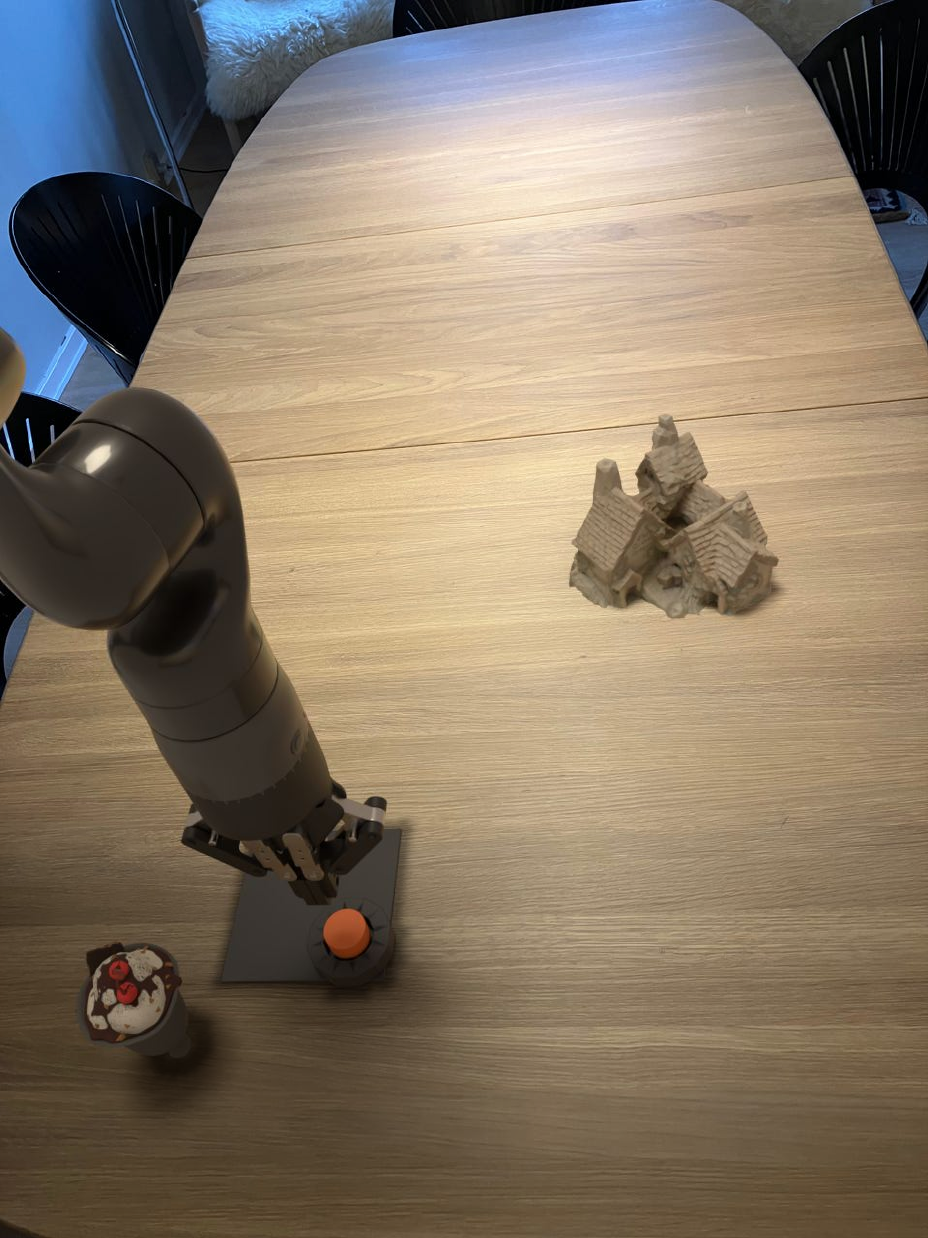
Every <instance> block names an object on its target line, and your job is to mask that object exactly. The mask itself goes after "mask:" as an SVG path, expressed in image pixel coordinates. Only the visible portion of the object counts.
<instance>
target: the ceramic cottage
mask: <svg viewBox="0 0 928 1238" xmlns="http://www.w3.org/2000/svg"><path fill="white" fill-rule="evenodd" d="M657 419H658V425H657V426H655V428H653V430H652V436H651V441H652V442H651V443H652V445H651V450H649V451H646V452H645V453H644V458H643V459H642V460H641V462H640V463H639V465H638V467H637V469H636V471H635V473H634V475H635V477H636V478H637V485H636V486H637V489H638V493H637V494H635V495H630V494H627V492H625V491H624V489H623V487H622V479H621V475H620V471H619V467H618V464H617V461H615V460H613V459H610V458H602V459H601V460H599V461H598V462H596V466H595V478H594V483H593V489H592V502H591V506H590V508H589V510H588V512H587V514H586V516H585V518H584V519H583V521H582V524H581V526H580V527H579V528H578V530H577V533H576V537H575V538H573V539H571V545H572V546H573V547H575V548H577V551H576V552H575V553H574V556H573V561H572V564H571V567H570V572H569V578H568V579H569V580H568V586H569V587H570V588H576V590H578V591H579V592H580V593H581V596H582V597H584V598H585V599H587V600H588V601H590V602H591V603H592V604H593V605H595V606H599V608H602V609H607V608H608V607H612V608H617V609H618V608H619V609H625V610H627V608H626V607H627V606H628V603H629V602H631V601H632V600H633V599H634V597H637V598H641V599H642V600H644V601H645V602H647V603H648V604H651V605H653V606H655V607H656V608H658V609H660V610H661V611H664V613H665V614H666V616H667V618H669V619H673V620H674V619H675V620H677V619H678V620H679V619H684V618H686V616H687V615H696V616H701V614H700V613H701V612H702V610H704V608H705V607H706V606H707V605H708V604H709V603H710V602H713V601H715V602H716V604H717V607H716V611H717V613H718V614H720V617H722V616H724V615H725V616H726V617H731V616H735V615H736V613H737V612H738V611H743V609H747V608H751V606H752V605H753V604H756V603H758V602H760V601H761V600H764V598H767V597H768V596H769V595H770V594H771V592H772V590H773V589H772V588H773V587H772V585H771V583H770V581H771V578H772V575H773V568H775V567H778V564H779V561H780V558H778V556H777V555H775V554H774V552H772V551H771V550H769V549H768V548H767V547H766V545H767V544H768V534H767V533H766V531H765V529H764V527H763V525H762V522H761V521H760V519H759V517H758V515H757V512H756V510H755V509H754V506H753V503H752V501H751V499H750V496H749V495H748V493H747V491H746V490H740V491H739V492H738V493H737V494H736V495H735V496H734V497H732V498H726V497H725V496H723V495H722V494H721V493H719V492H718V491H717V490H716V489H714V488H712V487H711V486H710V485H709V484H705V483H704V480H705V479H706V478H707V476H708V474H709V471H708V469H707V468H706V467H707V466H706V465H705V462H704V459H703V456H702V454H701V452H700V450H699V447H698V445H697V444H696V441H695V438H694V436H693V434H692V433H691V432H690V431H686V432H684V433H683V434H681V435H680V436H679V432H678V430H677V429H678V428H677V427H676V424H675V422H674V418H673V415H671V414H669V413H661V414H659V415H658V418H657Z"/></svg>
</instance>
